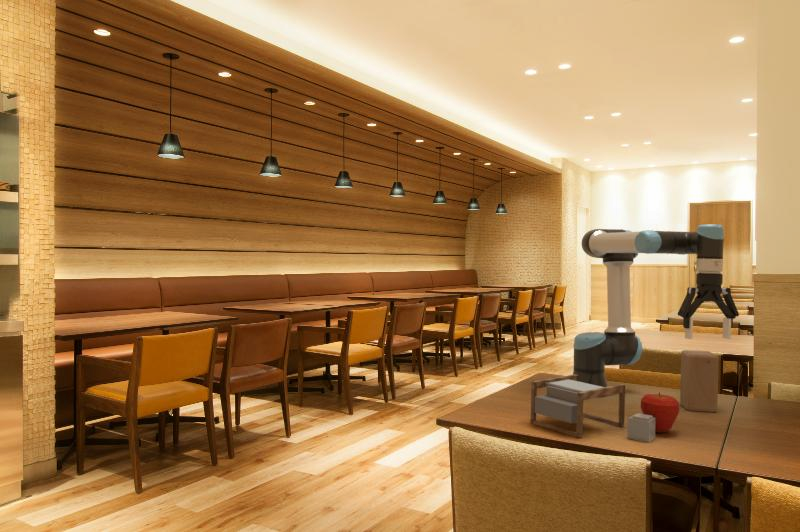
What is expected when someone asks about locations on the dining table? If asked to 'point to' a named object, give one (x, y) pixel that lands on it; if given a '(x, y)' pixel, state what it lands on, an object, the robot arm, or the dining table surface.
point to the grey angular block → (561, 399)
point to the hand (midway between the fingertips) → (707, 338)
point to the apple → (661, 410)
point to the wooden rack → (580, 404)
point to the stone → (641, 427)
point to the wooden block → (699, 380)
